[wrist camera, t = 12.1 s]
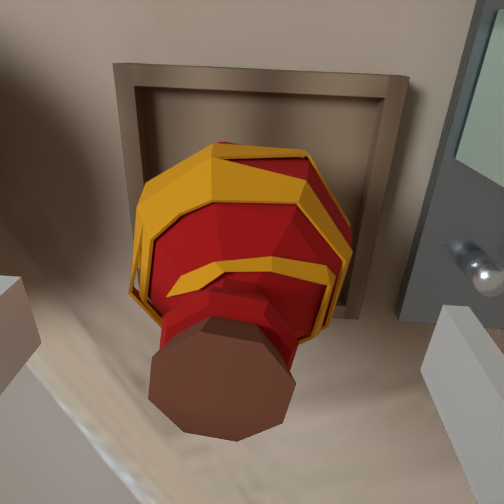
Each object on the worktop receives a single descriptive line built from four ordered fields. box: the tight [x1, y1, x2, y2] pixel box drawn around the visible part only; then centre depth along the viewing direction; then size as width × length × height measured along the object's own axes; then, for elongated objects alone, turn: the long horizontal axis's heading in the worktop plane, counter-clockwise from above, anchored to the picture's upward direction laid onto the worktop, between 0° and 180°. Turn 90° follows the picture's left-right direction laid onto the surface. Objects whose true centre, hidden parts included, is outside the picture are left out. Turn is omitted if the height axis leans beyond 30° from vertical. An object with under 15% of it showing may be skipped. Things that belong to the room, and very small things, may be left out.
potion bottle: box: [128, 142, 353, 442], centre depth 17 cm, size 10×10×15 cm
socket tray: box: [113, 63, 410, 320], centre depth 23 cm, size 15×15×2 cm
